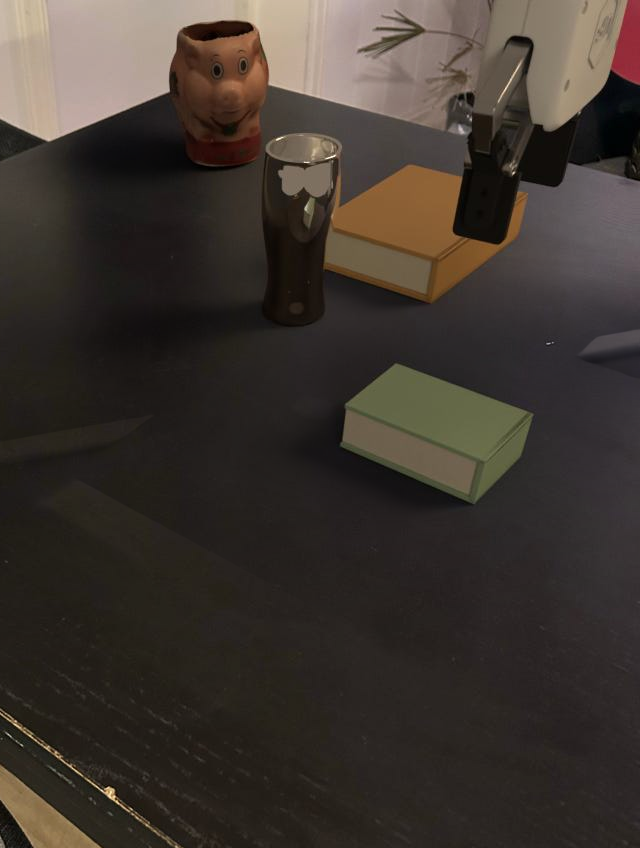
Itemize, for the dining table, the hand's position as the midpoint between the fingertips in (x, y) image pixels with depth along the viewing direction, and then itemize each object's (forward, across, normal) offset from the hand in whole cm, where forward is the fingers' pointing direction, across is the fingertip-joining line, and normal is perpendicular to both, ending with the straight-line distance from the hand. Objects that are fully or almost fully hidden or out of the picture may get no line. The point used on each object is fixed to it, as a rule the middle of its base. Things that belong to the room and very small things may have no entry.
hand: (508, 209), depth 57 cm
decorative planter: (+20, +46, +52) cm, 72 cm away
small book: (+20, 0, +2) cm, 20 cm away
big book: (+19, +32, +18) cm, 42 cm away
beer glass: (+20, +15, +22) cm, 33 cm away
